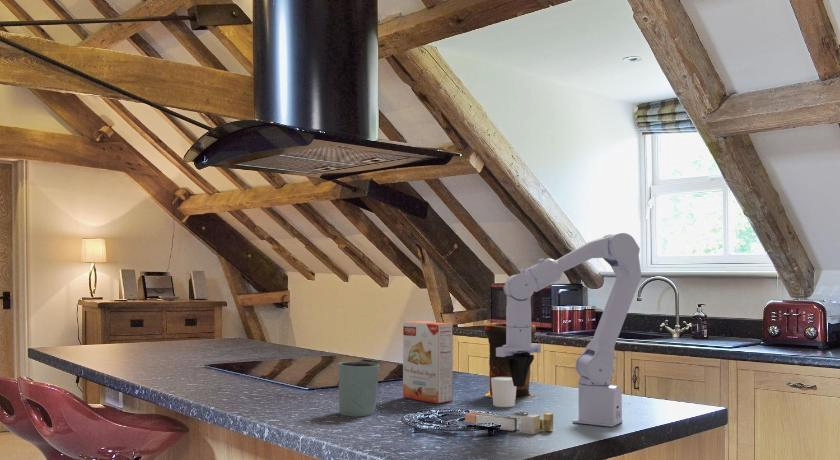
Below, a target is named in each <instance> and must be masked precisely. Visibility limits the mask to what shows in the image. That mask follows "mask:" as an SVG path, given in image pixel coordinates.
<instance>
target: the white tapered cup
mask: <svg viewBox="0 0 840 460" xmlns="http://www.w3.org/2000/svg"><path fill="white" fill-rule="evenodd" d="M491 384H492V395H493V397H492V405H493V406H494V407H499V408H511V407H515V406H516V399H515V398H516V386H514V385H513V381H512V377H493V378H491Z"/></svg>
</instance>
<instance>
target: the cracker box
mask: <svg viewBox="0 0 840 460" xmlns="http://www.w3.org/2000/svg"><path fill="white" fill-rule="evenodd" d="M402 324H403V326H402V328H403V329H402V330H403V331H402V334H403V335H402V336H403V337H402V338H403V339H402V340H403V343H402V344H403V345H402V347H403V348H402V397H403V398H406V399H410V400H411V399H412V400H417V401H423V402H428V403H432V404H439V405H440V404H445V403H449V402H450V403H451V402H453V385H454V383H453V380H454V379H453V373H454V372H453V370H454V369H453V367H454V365H453V363H454V362H453V357H454V356H453V355H454V354H453V353H454V352H453V351H454V350H453V349H454V347H453V346H454V345H453V341H454V340H453V339H454V338H453V336H454V332H453V331H454V330H453V329H454V325H453V323H447V322H438V321H437V322H436V321H425V320H407V321H406V320H405V321H403V323H402Z"/></svg>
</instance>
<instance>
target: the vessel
mask: <svg viewBox="0 0 840 460" xmlns="http://www.w3.org/2000/svg"><path fill="white" fill-rule="evenodd" d="M506 327H507V326H506V322H500V323H499V322H492V323H487V324H485V326H484V329H483V330H484V333H485V335H486V337H487V341H488V344H489V345H488V346H489V355H488V358H489V360H488V364H489V365H488V366H489V375H488V376H489V390H488V393H486V394H485V397H490V398H493V395H492V384H491V378H493V377H511V373H510V370H509V367H508V365H507V363H506V362H505V360H504V357H498V356H496V348H499V347H503V345H506ZM536 331H537V328H536V324H531V344H533V338H534V336H535V334H536ZM517 352H522V351H517ZM512 353H514V352H512ZM529 355H531V353H529ZM530 378H531V366H530V367H529V370H528V373H527V377H526V381H525V385H524V387H516V398H515V400H523V399H524V400H525V399H530V398H533V397H535V396H536V394H533V393H530V381H531V380H530Z"/></svg>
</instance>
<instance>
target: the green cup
mask: <svg viewBox="0 0 840 460" xmlns="http://www.w3.org/2000/svg"><path fill="white" fill-rule="evenodd" d="M337 367H338V368H337V369H338V371H337V372H338V396H339V401H338V403H339V406H338V407H339V414H340V415H341V416H345V417H346V416H347V417H367V416H368V417H369V416H373V415H375V413H376V404H377V396H378V384H379V383H378V382H379V375H380V373H379V372H380V363H377V362H372V361H342V362H339V363H338V364H337Z"/></svg>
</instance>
